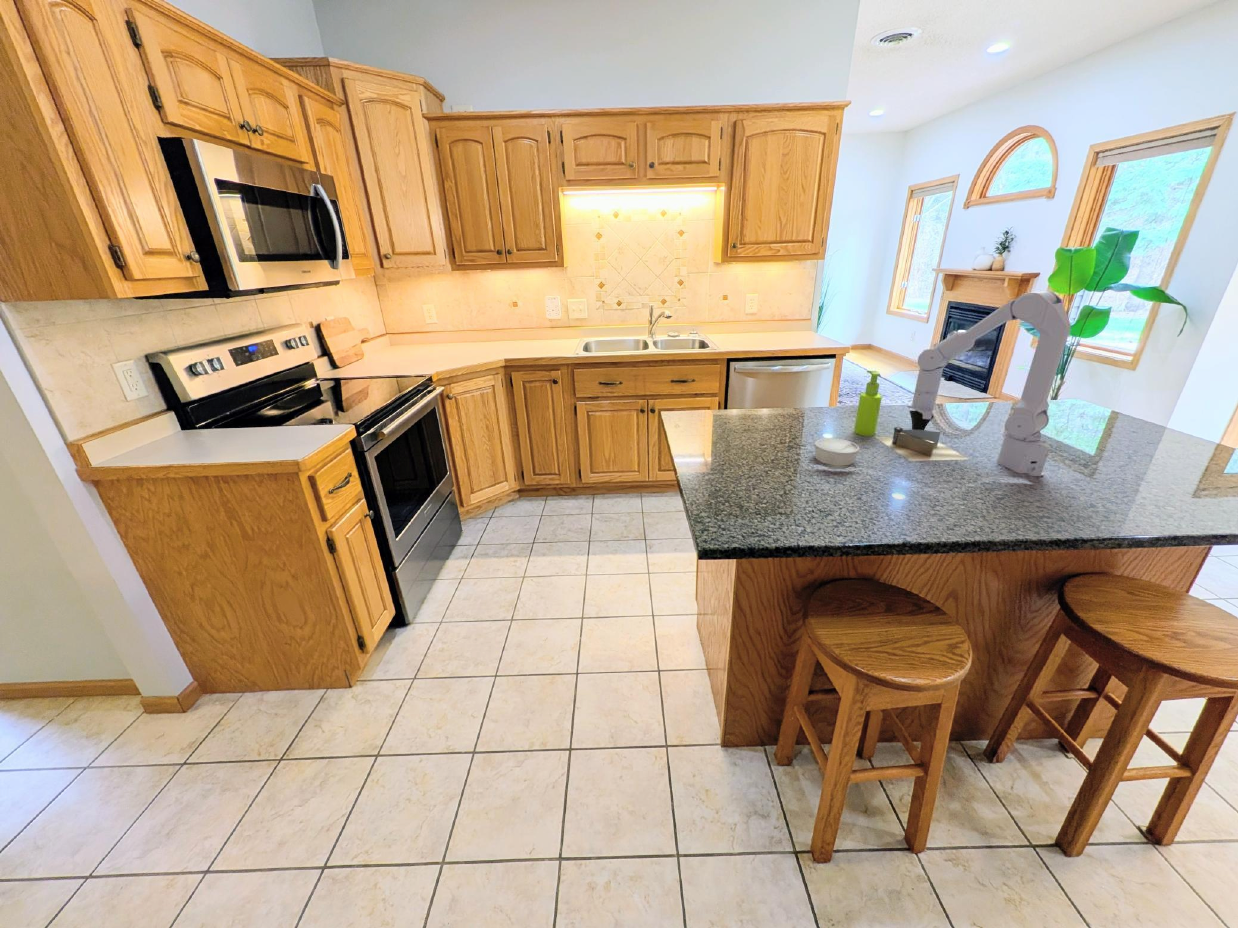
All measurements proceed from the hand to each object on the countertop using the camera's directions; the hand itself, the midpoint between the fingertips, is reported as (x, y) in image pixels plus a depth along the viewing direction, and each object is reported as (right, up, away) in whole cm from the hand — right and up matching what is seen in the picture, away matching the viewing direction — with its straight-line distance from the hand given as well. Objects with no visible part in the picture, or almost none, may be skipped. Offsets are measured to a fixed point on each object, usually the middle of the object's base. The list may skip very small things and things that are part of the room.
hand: (916, 435), depth 148 cm
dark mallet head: (-6, -4, -7) cm, 10 cm away
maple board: (-3, -5, -6) cm, 8 cm away
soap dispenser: (-12, 0, +7) cm, 14 cm away
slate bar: (-2, -2, -4) cm, 5 cm away
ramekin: (-30, -8, -12) cm, 33 cm away
